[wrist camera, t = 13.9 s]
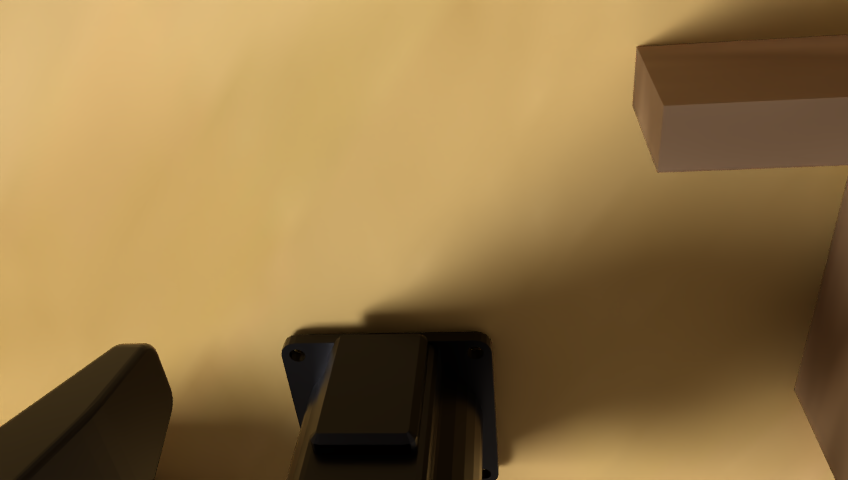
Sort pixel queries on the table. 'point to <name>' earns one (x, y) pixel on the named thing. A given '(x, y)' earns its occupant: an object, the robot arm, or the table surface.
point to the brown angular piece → (765, 165)
